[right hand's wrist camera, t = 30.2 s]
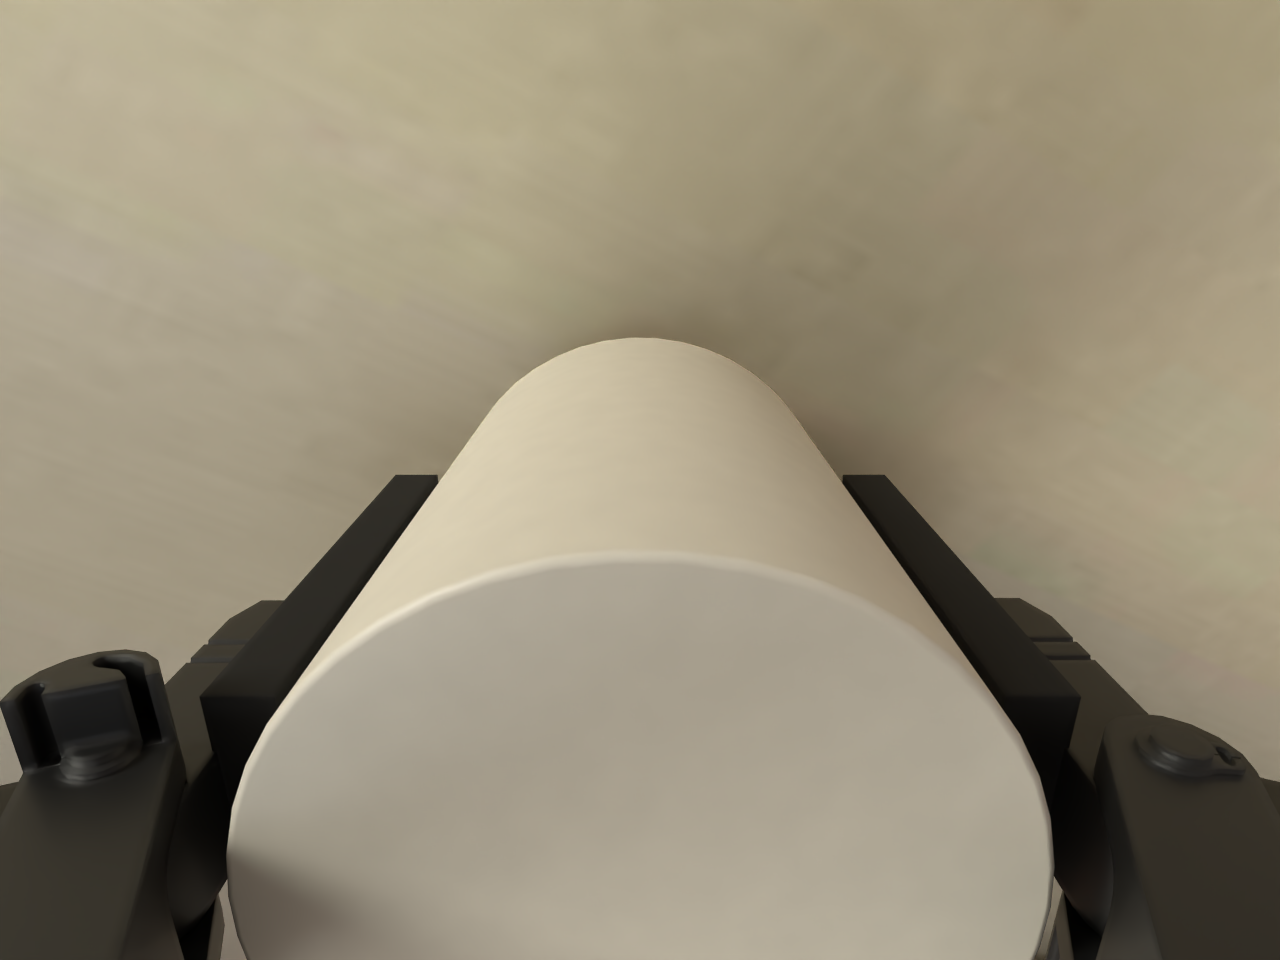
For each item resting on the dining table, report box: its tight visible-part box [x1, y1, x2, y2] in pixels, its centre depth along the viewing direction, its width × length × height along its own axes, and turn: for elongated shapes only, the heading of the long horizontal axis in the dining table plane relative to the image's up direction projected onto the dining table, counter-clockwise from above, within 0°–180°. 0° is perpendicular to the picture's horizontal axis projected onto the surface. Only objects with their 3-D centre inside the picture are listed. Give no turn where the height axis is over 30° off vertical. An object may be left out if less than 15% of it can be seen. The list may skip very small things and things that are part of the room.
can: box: [226, 338, 1055, 960], centre depth 11 cm, size 7×7×9 cm
